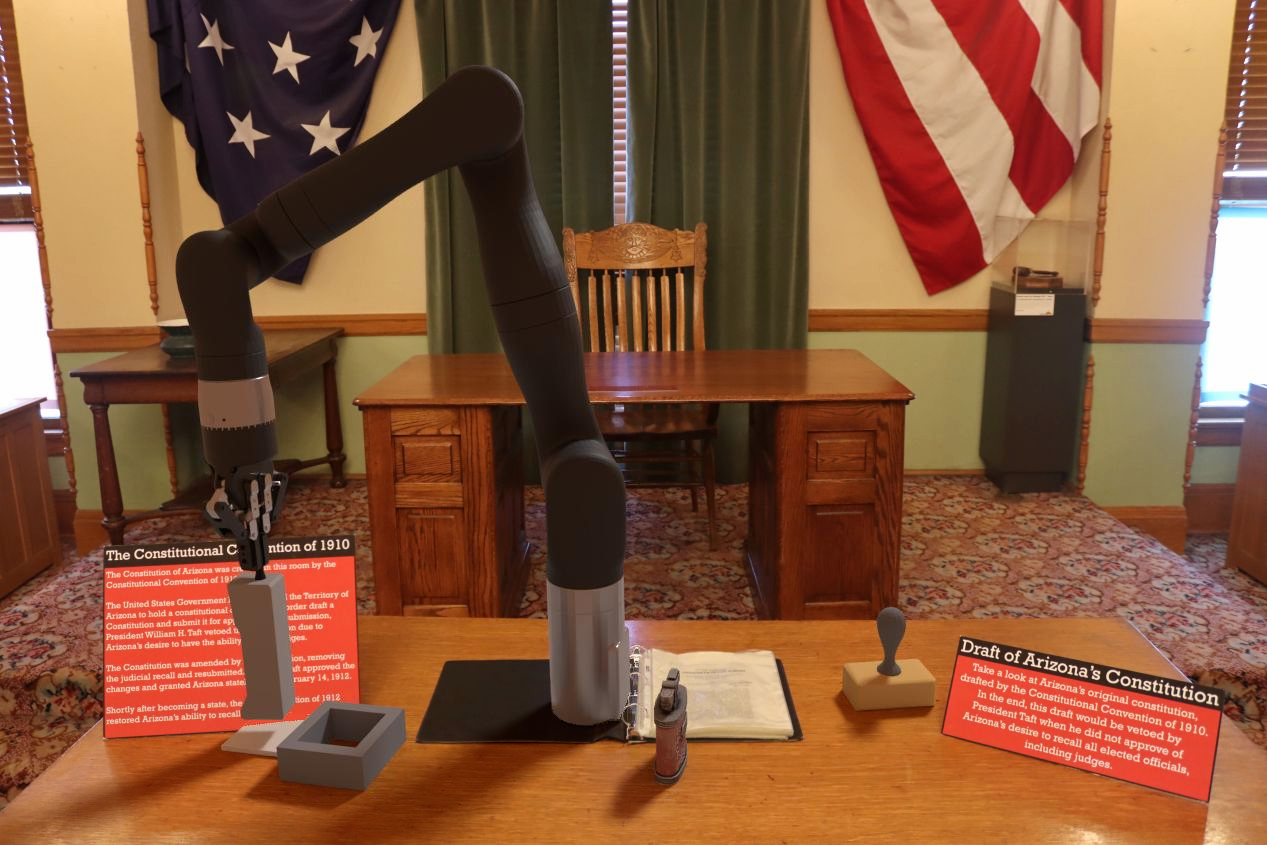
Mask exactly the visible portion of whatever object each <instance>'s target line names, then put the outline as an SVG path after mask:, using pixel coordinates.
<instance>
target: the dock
mask: <svg viewBox="0 0 1267 845" xmlns="http://www.w3.org/2000/svg"><path fill="white" fill-rule="evenodd" d="M405 714H406V712H405V708H404V707H395V706H394V707H393V706H385V705H377V704H376V705H374V704H364V703H354V702H348V701H347V702H345V701H336V700H324V701H323V702H322V703H321V704H320V705H319V706H317V708H316V709H314V710H313V711H312V713H310V714H309V715H310V716H308V717H307V718H306V719H305V720H304V721H303V722H302V723H301V724H300V725H299V726H298V727H297V728H296V729H295V730H294V731H293V732H292V733H291V734H290V735H289V736H287V737H286V738H285V739H284V740H283V741H282V742H281V743H280V744H279V745H278V746H277V747H276V750H277V757H276V758H277V766H278V775H279V781H281V782H288V783H295V784H296V783H297V784H304V785H305V784H306V785H314V786H321V787H322V786H323V787H328V788H330V787H331V788H339V789H347V790H352V791H353V790H354V791H365V792H366V790H367V789H368V788H369V786H370V785H371V784H372V782H373V781H374V780H375V779H376V778H377V776H378V775H379V774H380V773H381V772H382V771H383V769H384V768H385V767H386V766H387V765H388V763H389V762H390V760H391V759H393V757H394V756H395V755H396V754H397V752H398V751H399V750H400V748H402V746H403V745H404V743H406V741H407V738H408V737H407V726H406V715H405ZM333 740H337V741H347V742H356V743H358V745H357V746H356V747H353V746H352V747H351V746H344V745H335V744H330V743H331V742H332V741H333Z"/></svg>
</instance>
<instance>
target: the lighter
mask: <svg viewBox="0 0 1267 845" xmlns="http://www.w3.org/2000/svg"><path fill="white" fill-rule="evenodd" d="M680 674H681V670H680V669H678V668H677V667H676V668H675V667H673V668H670V669H669V671H668V674H667V676H666V679H665V680H662V683H661V688H660V690H659V693H658V694H657V697H656V698H655V701H654V705H653V723H654V725H655V758H654V781H655V782H656V783H658V784H659V785H663V786H673V785H676V784H677V783H678V782H679V781H680V779H681V778H682V777H683V775H684V773H685V770H686V768H687V765H688V764H687V763H688V750H689V749H688V742H687V739H686V738H687V737H686V736H687V735H686V734H687V729H688V711H687V708H688V707H687V706H688V690H687V687H686V686H685V685H683V684H680V681H681V680H680V679H681V675H680Z"/></svg>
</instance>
